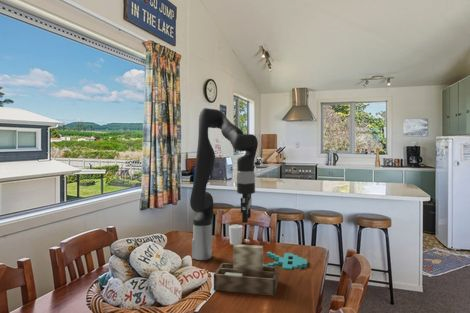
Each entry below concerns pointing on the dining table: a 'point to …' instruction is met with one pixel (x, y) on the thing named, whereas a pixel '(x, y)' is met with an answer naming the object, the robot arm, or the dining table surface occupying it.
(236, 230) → the white cup
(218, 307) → the dining table surface
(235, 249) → the birch panel
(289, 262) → the alien figure
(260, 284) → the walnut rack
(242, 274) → the sage offcut
